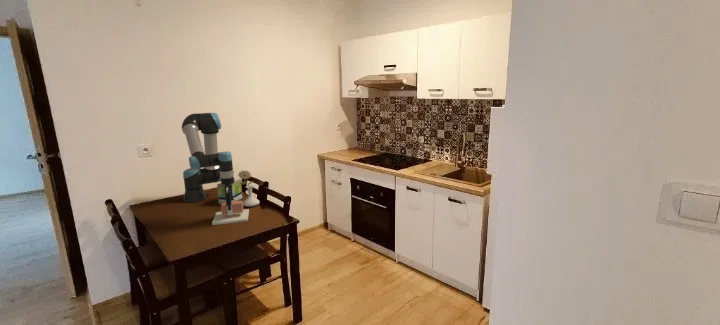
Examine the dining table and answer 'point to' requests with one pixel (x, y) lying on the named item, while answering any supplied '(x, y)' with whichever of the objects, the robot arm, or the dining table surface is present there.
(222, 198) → the tea box
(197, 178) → the robot arm
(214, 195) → the dining table surface
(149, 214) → the dining table surface
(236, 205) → the brick block
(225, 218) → the grey board
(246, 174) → the flower in vase
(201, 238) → the dining table surface
